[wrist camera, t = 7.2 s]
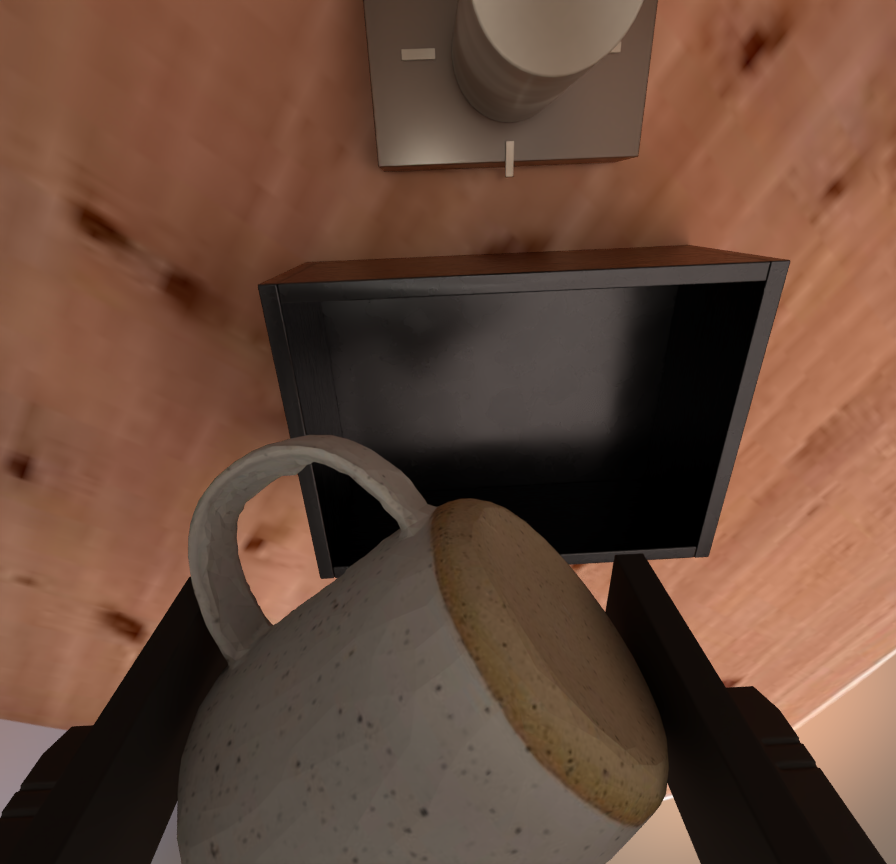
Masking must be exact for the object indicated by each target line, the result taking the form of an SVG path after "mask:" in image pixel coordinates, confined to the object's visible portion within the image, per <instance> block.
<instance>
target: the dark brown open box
mask: <svg viewBox="0 0 896 864" xmlns="http://www.w3.org/2000/svg"><path fill="white" fill-rule="evenodd" d="M789 264H790V260H785V259H779V258H772V257H765V256H759V255H752V254H745V253H739V252H732V251H725V250H719V249H712V248H705V247H698V246H692V245H682V246H660V247H638V248H615V249H593V250H571V251H548V252H526V253H504V254H481V255H459V256H436V257H414V258H392V259H369V260H347V261H325V262H305V263H303V264H301V265H299V266H297V267H295V268H293V269H291V270H289V271H287V272H284V273H282V274H280V275H278V276H276V277H274V278H272V279H269V280H267V281H265V282H263V283H261V284H259V285H258V290H259V295H260V299H261V304H262V309H263V313H264V318H265V323H266V327H267V332H268V336H269V341H270V346H271V350H272V355H273V360H274V364H275V369H276V374H277V378H278V383H279V388H280V392H281V397H282V402H283V406H284V411H285V416H286V420H287V425H288V430H289V434H290V439H291V438H296V437H301V436H306V435H333V436H337V437H341V438H345V439H349V440H351V441H354V442H356V443H359V444H361V445H363V446H365V447H367V448H369V449H371V450H373V451H374V452H376V453H377V454H378V455H380V456H381V457H382V458H384V459H385V460H387V461H388V462H389V463H391V464H392V465H394V466H395V467H396V468H398V469H399V470H400V471H402V472H403V473H404V474H405V475H406V476H407V477H408V478H409V479H410V480H411V482H412V483H413V485H414V486H415V488H416V489H417V490H418V492H419V493H420V494H421V495H422V497H423V498H424V499H425V501H426V503H427V504H428V505H432V506H435V507H438V506H441V505H443V504H445V503H447V502H450V501H454V500H457V499H468V498H473V499H478V500H483V501H488V502H492V503H494V504H497V505H499V506H502V507H504V508H506V509H508V510H509V511H511V512H512V513H514V514H515V515H516V516H518V517H519V518H521V519H522V520H524V521H525V522H526V523H527V524H528V525H530V526H531V527H532V528H533V529H534V530H535V531H536V532H537V533H538V534H540V535H541V536H542V537H543V538H544V539H545V540H546V541H547V542H548V543H549V544H550V545H551V546H552V547H553V548H554V549H555V550H556V552H557V553H558V554H559V555H560V556H561V557H562V558H563V559H564V560H565V561H566V562H567V563H568V564H569V565H570V564H587V563H604V562H614V557H615V555H620V554H639V553H643V554H644V556H645V557H646V559H647V560H656V559H673V558H691V557H695V558H696V557H708V556H709V553H710V550H711V546H712V542H713V539H714V535H715V531H716V528H717V524H718V521H719V517H720V513H721V510H722V506H723V503H724V499H725V495H726V492H727V488H728V485H729V481H730V477H731V474H732V470H733V467H734V463H735V459H736V456H737V452H738V448H739V445H740V441H741V438H742V434H743V430H744V427H745V423H746V420H747V416H748V412H749V409H750V405H751V402H752V398H753V394H754V391H755V387H756V384H757V380H758V376H759V373H760V369H761V365H762V362H763V358H764V355H765V351H766V347H767V344H768V340H769V337H770V333H771V329H772V326H773V322H774V319H775V315H776V311H777V308H778V304H779V301H780V297H781V293H782V290H783V286H784V283H785V279H786V275H787V272H788V268H789ZM298 476H299V481H300V485H301V490H302V495H303V499H304V504H305V509H306V513H307V518H308V523H309V527H310V532H311V537H312V541H313V546H314V551H315V555H316V560H317V565H318V569H319V574H320V578H321V579H327V578H334V577H335V578H339V577H341V576H342V575H343V574H344V573H345V571H346V569H348V568H349V567H350V566H352V565H353V564H354V563H356V562H357V561H358V560H360V559H361V558H363V557H364V556H366V555H367V554H368V553H369V552H370V551H371V550H373V549H374V548H375V547H376V546H378V545H379V543H380V542H381V541H382V540H384V539H385V538H387V537H389V536H390V535H392V534H393V533H394V532H396V531H397V530H399V529H400V527H399V524H398V522H397V520H396V519H394V518H393V517H392V516H391V515H390V514H389V513H388V512H387V511H386V510H385V509H384V508H383V506H382V504H381V503H380V501H378V500H377V499H376V498H375V497H373V496H372V495H371V494H370V493H369V492H367V491H366V490H365V489H364V488H363V487H361V486H360V485H359V484H358V483H357V482H356V481H355V480H354V479H352V478H351V477H350V476H349V475H348V474H344V473H341V472H339V471H337V470H335V469H334V468H331V467H329V466H327V465H325V464H321V463H317V462H313V463H311V464H308V465H306V466H305V468H304V469H303V470H302V471H300V472H299V473H298Z"/></svg>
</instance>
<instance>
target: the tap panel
mask: <svg viewBox="0 0 896 864" xmlns="http://www.w3.org/2000/svg"><path fill="white" fill-rule="evenodd" d="M657 3H658V0H644V1H643V3H642V6H641V8H640V10H639V12H638V14H637V16H636V18H635V20H634V22H633V23H632V25H631V27H630V28H629V30H628V32H627V33H626V34H625V36H624V37H623V38H622V40H621V41H620V42H619V44H618V45H617V46H616V47H615V48H614V49H613V50H612V51H611V52H610V53H609V54H608V55H607V56H605V57H604V58H603V59H602V60H601V61H599V62H598V63H597V64H596V65H595V66H593V67H592V68H591V69H590V70H589V71H588V72H586V73H585V74H584V75H583V76H582V77H580V78H579V79H578V80H577V81H576V82H574V83H573V84H572V85H571V86H570V87H568V88H567V89H566V90H565V91H564V92H563V93H561V94H560V95H559V96H558V97H557V98H555V99H554V100H553V101H552V102H551V103H549V104H548V105H547V106H546V107H545V108H543V109H542V110H541V111H540V112H538V113H537V114H535V115H534V116H532V117H530V118H527V119H525V120H522V121H518V122H500V121H495V120H493V119H490V118H488V117H486V116H484V115H482V114H481V113H480V112H478V111H477V110H476V109H475V108H474V107H473V106H472V105H471V104H470V103H469V102H468V100H467V99H466V98H465V96H464V94H463V93H462V91H461V89H460V87H459V84H458V82H457V79H456V76H455V72H454V67H453V60H452V41H453V33H454V27H455V20H456V13H457V7H458V0H363V4H364V15H365V26H366V37H367V48H368V59H369V70H370V81H371V92H372V103H373V114H374V124H375V135H376V146H377V157H378V166H379V168H381V169H382V170H383V171H385V172H387V171H412V170H436V169H460V168H485V167H505V177H513V167H514V166H533V165H557V164H582V163H606V162H617V161H621V160H626V159H630V158H634V157H638V154H639V146H640V138H641V130H642V122H643V115H644V107H645V99H646V91H647V83H648V75H649V67H650V59H651V51H652V43H653V35H654V27H655V19H656V11H657Z"/></svg>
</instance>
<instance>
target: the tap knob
mask: <svg viewBox="0 0 896 864" xmlns="http://www.w3.org/2000/svg"><path fill="white" fill-rule="evenodd" d="M643 1H644V0H458V7H457V13H456V20H455V27H454V33H453V41H452V60H453V67H454V72H455V76H456V79H457V82H458V84H459V87H460V89H461V91H462V93H463V94H464V96H465V98H466V99H467V100H468V102H469V103H470V104H471V105H472V106H473V107H474V108H475V109H476V110H477V111H478V112H480V113H481V114H482V115H484V116H486V117H488V118H490V119H493V120H495V121H500V122H518V121H522V120H525V119H527V118H530V117H532V116H534V115H535V114H537V113H538V112H540V111H541V110H542V109H543V108H545V107H546V106H547V105H548V104H549V103H551V102H552V101H553V100H554V99H555V98H557V97H558V96H559V95H560V94H561V93H563V92H564V91H565V90H566V89H567V88H568V87H570V86H571V85H572V84H573V83H574V82H576V81H577V80H578V79H579V78H580V77H582V76H583V75H584V74H585V73H586V72H588V71H589V70H590V69H591V68H592V67H593V66H595V65H596V64H597V63H598V62H599V61H601V60H602V59H603V58H604V57H605V56H607V55H608V54H609V53H610V52H611V51H612V50H613V49H614V48H615V47H616V46H617V45H618V44H619V42H620V41H621V40H622V38H623V37H624V36H625V34H626V33H627V32H628V30H629V28H630V27H631V25H632V23H633V22H634V20H635V18H636V16H637V14H638V12H639V10H640V8H641V6H642V3H643Z"/></svg>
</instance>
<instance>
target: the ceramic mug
mask: <svg viewBox="0 0 896 864" xmlns="http://www.w3.org/2000/svg"><path fill="white" fill-rule="evenodd" d="M313 462H317V463H321V464H325V465H327V466H329V467H331V468H334V469H335V470H337V471H339V472H341V473H344V474H348V475H349V476H350V477H351V478H352V479H354V480H355V481H356V482H357V483H358V484H359V485H360V486H361V487H363V488H364V489H365V490H366V491H367V492H369V493H370V494H371V495H372V496H373V497H375V498H376V499H377V500H378V501H380V503H381V504H382V506H383V508H384V509H385V510H386V511H387V512H388V513H389V514H390V515H391V516H392V517H393V518H394V519H396V520H397V522H398V524H399V527H400V529H399V530H397V531H396V532H394V533H393V534H392V535H390V536H389V537H387V538H385V539H384V540H382V541H381V542H380V543H379V545H378V546H376V547H375V548H374V549H373V550H371V551H370V552H369V553H368V554H367V555H366V556H364V557H363V558H361V559H360V560H358V561H357V562H356V563H354V564H353V565H352V566H350V567H349V568H348V569H346V571H345V573H344V574H343V575H342V576H341V577H339V578H337V579H336V580H335V581H334V582H332V583H331V584H329V585H328V586H326V587H325V588H323V589H322V590H321V591H320V592H318V593H317V594H316V595H314V596H313V597H311V598H310V599H308V600H307V601H306V602H304V603H303V604H301V605H300V606H298V607H297V608H296V609H295V610H293V611H291V613H290V614H289V615H287V616H286V617H284V618H283V619H282V620H281V621H280V622H278V623H277V624H274V625H272V624H271V623H270V622H269V620H268V619H267V618H266V617H265V615H264V614H263V612H262V610H261V608H260V606H259V605H258V603H257V601H256V598H255V597H254V595H253V593H252V592H251V591H250V586H249V585H248V583H247V582H246V579H245V576H244V573H243V570H242V567H241V563H240V559H239V555H238V545H237V521H238V517H239V514H240V513H241V512H242V510H243V509H244V505H245V503H246V502H247V501H249V500H250V499H251V498H253V497H254V496H255V495H256V494H257V493H259V492H260V491H261V490H262V489H264V488H265V487H266V486H267V485H268V484H270V483H271V482H273V481H274V480H276V479H277V478H279V477H281V476H288V475H296V474H298V473H299V472H300V471H302V470H303V469H304V468H305V466H306V465H308V464H311V463H313ZM188 559H189V566H190V573H191V579H192V585H193V589H194V593H195V596H196V599H197V601H198V604H199V607H200V610H201V613H202V616H203V619H204V621H205V624H206V626H207V628H208V630H209V632H210V634H211V635H212V637H213V639H214V640H215V642H216V644H217V645H218V647H219V649H220V651H221V652H222V654H223V656H224V657H225V659H226V660H227V662H228V666H227V667H226V668H225V669H224V670H223V672H222V673H221V675H220V676H219V677H218V679H217V680H216V682H215V683H214V685H213V686H212V688H211V689H210V691H209V693H208V694H207V696H206V697H205V699H204V701H203V702H202V703H201V705H200V706H199V709H198V711H197V714H196V716H195V719H194V722H193V725H192V727H191V730H190V733H189V736H188V739H187V742H186V745H185V748H184V751H183V755H182V758H181V765H180V772H179V783H178V807H177V808H178V809H177V811H178V812H177V813H178V814H177V818H178V819H177V841H178V846H179V851H180V857H181V863H182V864H605V863H606V862H608V861H609V860H610V859H612V857H613V856H614V855H615V854H616V853H617V852H618V851H619V850H620V849H621V848H622V847H623V846H624V845H625V844H626V843H627V842H628V841H629V840H630V839H631V838H632V837H633V835H634V834H635V833H636V832H637V831H638V830H639V829H640V828H641V827H642V826H643V825H644V823H646V822H647V820H648V819H649V818H650V817H651V816H652V815H653V814H654V813H655V811H656V810H657V809H658V808H659V806H660V805H661V802H662V801H663V799H664V797H665V795H666V789H667V780H668V772H669V762H668V749H667V738H666V734H665V730H664V727H663V723H662V719H661V716H660V713H659V710H658V708H657V706H656V703H655V701H654V699H653V696H652V694H651V692H650V689H649V687H648V685H647V683H646V681H645V679H644V677H643V675H642V673H641V671H640V669H639V667H638V665H637V663H636V661H635V659H634V657H633V656H632V654H631V652H630V651H629V649H628V647H627V646H626V644H625V642H624V641H623V639H622V637H621V636H620V634H619V633H618V631H617V629H616V628H615V626H614V625H613V623H612V622H611V620H610V619H609V617H608V616H607V614H606V613H605V611H604V610H603V608H602V607H601V606H600V604H599V603H598V602H597V600H596V599H595V598H594V596H593V595H592V593H591V592H590V591H589V589H588V588H587V587H586V585H585V584H584V583H583V582H582V580H581V579H580V578H579V577H578V575H577V574H576V573H575V572H574V570H573V569H572V568H571V567H570V565H569V564H568V563H567V562H566V561H565V560H564V559H563V558H562V557H561V556H560V555H559V554H558V553H557V552H556V550H555V549H554V548H553V547H552V546H551V545H550V544H549V543H548V542H547V541H546V540H545V539H544V538H543V537H542V536H541V535H540V534H538V533H537V532H536V531H535V530H534V529H533V528H532V527H531V526H530V525H528V524H527V523H526V522H525V521H524V520H522V519H521V518H519V517H518V516H516V515H515V514H514V513H512V512H511V511H509V510H508V509H506V508H504V507H502V506H499V505H497V504H494V503H492V502H488V501H483V500H478V499H473V498H468V499H457V500H454V501H450V502H447V503H445V504H443V505H441V506H438V507H435V506H432V505H428V504H427V503H426V501H425V499H424V498H423V497H422V495H421V494H420V493H419V492H418V490H417V489H416V488H415V486H414V485H413V483H412V482H411V480H410V479H409V478H408V477H407V476H406V475H405V474H404V473H403V472H402V471H400V470H399V469H398V468H396V467H395V466H394V465H392V464H391V463H389V462H388V461H387V460H385V459H384V458H382V457H381V456H380V455H378V454H377V453H376V452H374V451H373V450H371V449H369V448H367V447H365V446H363V445H361V444H359V443H356V442H354V441H351V440H349V439H345V438H341V437H337V436H333V435H306V436H301V437H296V438H291V439H287V440H284V441H281V442H277V443H273V444H268V445H265V446H263V447H261V448H259V449H256V450H254V451H251V452H250V453H248V454H247V455H245V456H244V457H242V458H241V459H239V460H237V461H235V462H234V463H233V464H231V465H230V466H229V467H228V468H227V469H225V470H224V471H223V472H222V473H221V474H219V475H218V476H217V477H216V478H215V479H214V480H213V482H212V483H211V484H210V486H209V487H208V488H207V490H206V491H205V492H204V494H203V495H202V497H201V498H200V500H199V501H198V504H197V506H196V508H195V511H194V514H193V517H192V520H191V524H190V531H189V537H188Z"/></svg>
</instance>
